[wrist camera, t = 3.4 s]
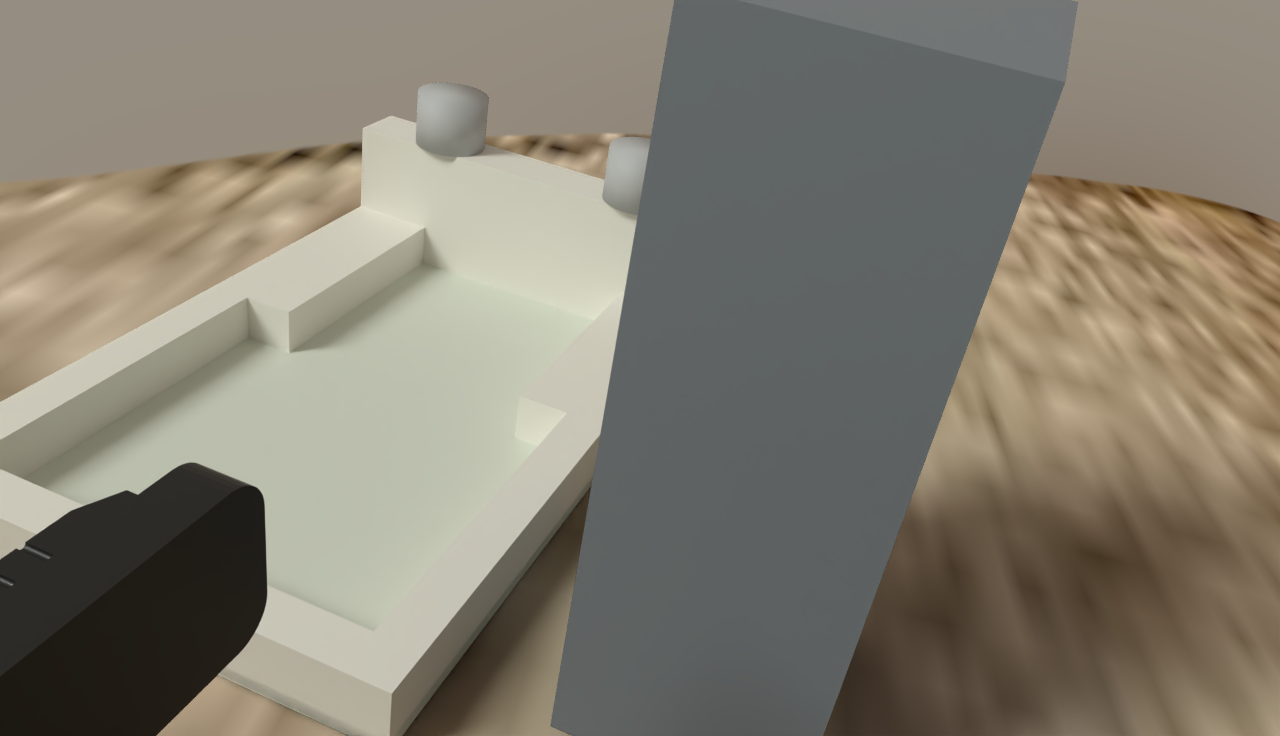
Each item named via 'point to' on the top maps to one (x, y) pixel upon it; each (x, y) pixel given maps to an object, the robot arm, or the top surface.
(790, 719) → the tall grey pillar
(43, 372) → the top surface
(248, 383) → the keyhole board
